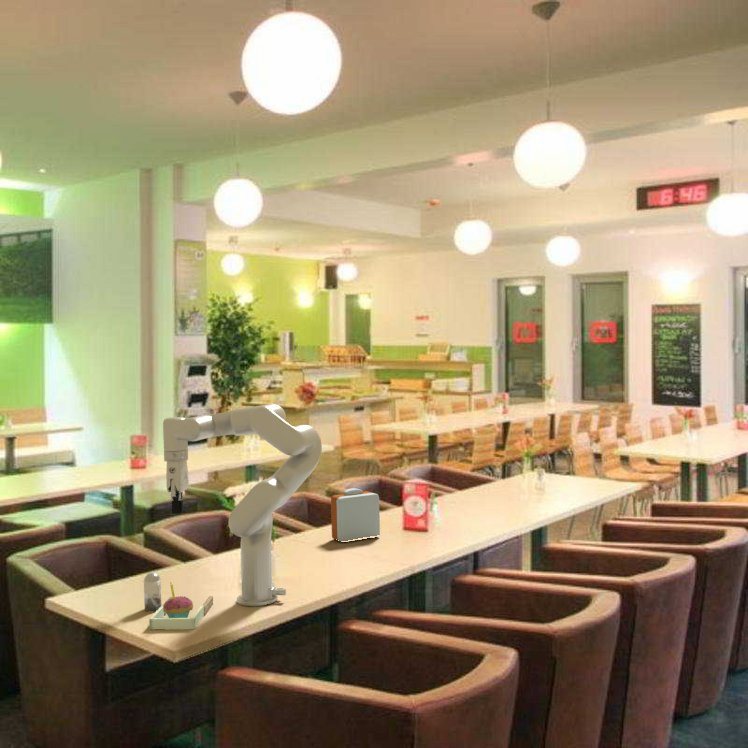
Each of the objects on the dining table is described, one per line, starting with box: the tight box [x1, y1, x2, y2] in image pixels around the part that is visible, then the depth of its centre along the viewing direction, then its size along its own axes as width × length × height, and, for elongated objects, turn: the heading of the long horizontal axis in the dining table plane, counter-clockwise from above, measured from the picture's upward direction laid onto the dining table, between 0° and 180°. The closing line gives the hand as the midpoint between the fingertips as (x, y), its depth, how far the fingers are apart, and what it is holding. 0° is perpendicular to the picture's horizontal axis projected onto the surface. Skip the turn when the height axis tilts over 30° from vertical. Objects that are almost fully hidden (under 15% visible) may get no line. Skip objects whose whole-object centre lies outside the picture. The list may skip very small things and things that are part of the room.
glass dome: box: [143, 572, 162, 612], centre depth 254 cm, size 5×5×11 cm
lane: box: [161, 595, 214, 617], centre depth 253 cm, size 13×11×2 cm
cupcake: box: [162, 581, 194, 618], centre depth 242 cm, size 9×8×12 cm
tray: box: [148, 604, 205, 630], centre depth 241 cm, size 13×12×3 cm
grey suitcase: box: [330, 487, 381, 542], centre depth 341 cm, size 18×9×21 cm, turn 120°
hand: (177, 512), depth 267 cm, fingers closed
